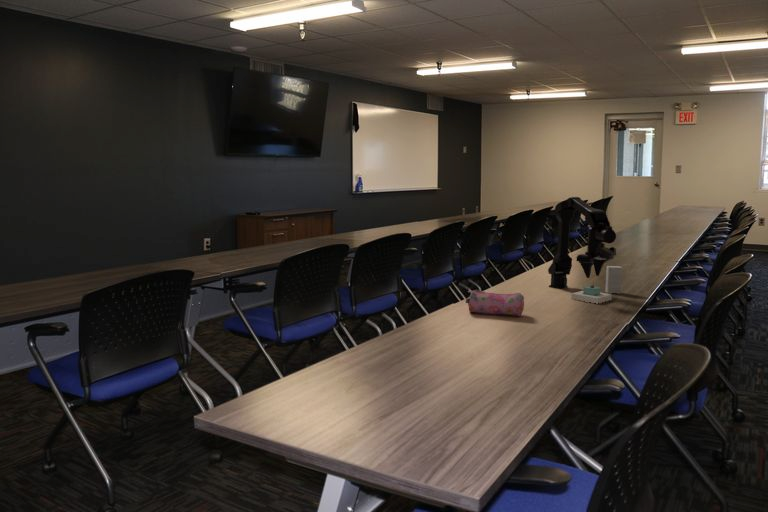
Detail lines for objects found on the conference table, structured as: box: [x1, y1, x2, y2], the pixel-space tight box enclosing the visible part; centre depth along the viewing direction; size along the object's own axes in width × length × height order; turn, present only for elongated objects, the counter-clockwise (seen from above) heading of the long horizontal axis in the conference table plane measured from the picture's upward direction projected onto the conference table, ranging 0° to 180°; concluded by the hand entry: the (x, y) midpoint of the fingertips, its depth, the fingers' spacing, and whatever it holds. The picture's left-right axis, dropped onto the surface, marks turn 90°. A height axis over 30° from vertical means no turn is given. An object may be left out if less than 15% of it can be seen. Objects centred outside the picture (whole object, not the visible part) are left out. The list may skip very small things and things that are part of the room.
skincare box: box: [604, 265, 623, 295], centre depth 274 cm, size 6×4×12 cm
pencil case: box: [465, 289, 525, 317], centre depth 232 cm, size 21×9×9 cm, turn 71°
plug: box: [582, 284, 601, 296], centre depth 259 cm, size 5×5×6 cm
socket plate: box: [570, 290, 613, 305], centre depth 260 cm, size 12×12×2 cm
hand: (592, 276), depth 258 cm, fingers open, 8 cm apart
